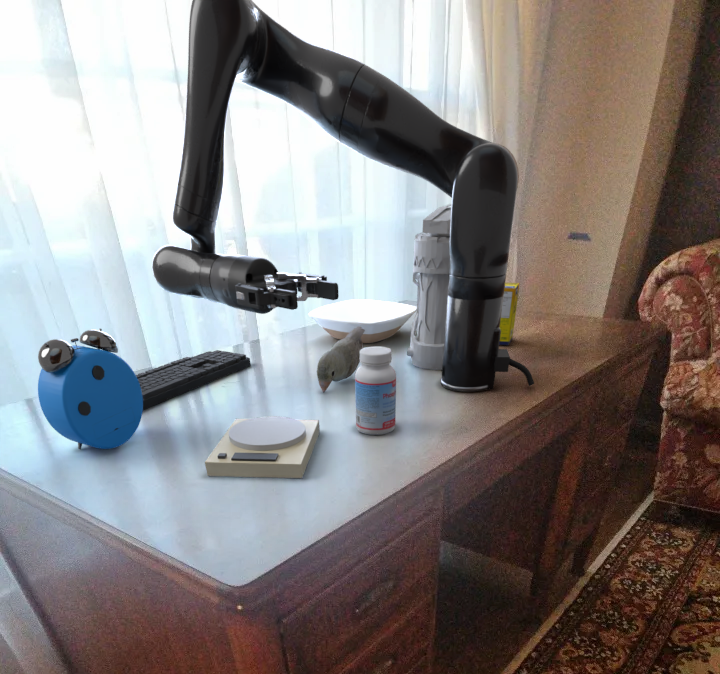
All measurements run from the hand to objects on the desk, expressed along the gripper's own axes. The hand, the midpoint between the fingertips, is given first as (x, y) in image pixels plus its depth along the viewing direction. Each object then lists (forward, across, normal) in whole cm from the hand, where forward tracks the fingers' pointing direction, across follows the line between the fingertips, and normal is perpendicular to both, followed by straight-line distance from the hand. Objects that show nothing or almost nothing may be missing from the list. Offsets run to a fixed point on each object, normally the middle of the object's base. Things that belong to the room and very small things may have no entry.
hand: (316, 296), depth 83 cm
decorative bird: (-9, +15, +17) cm, 24 cm away
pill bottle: (+11, 0, +17) cm, 20 cm away
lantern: (-2, +36, +17) cm, 40 cm away
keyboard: (-33, -8, +17) cm, 38 cm away
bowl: (-28, +42, +17) cm, 53 cm away
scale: (+5, -17, +17) cm, 24 cm away
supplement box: (-1, +56, +17) cm, 58 cm away
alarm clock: (-16, -30, +17) cm, 38 cm away
